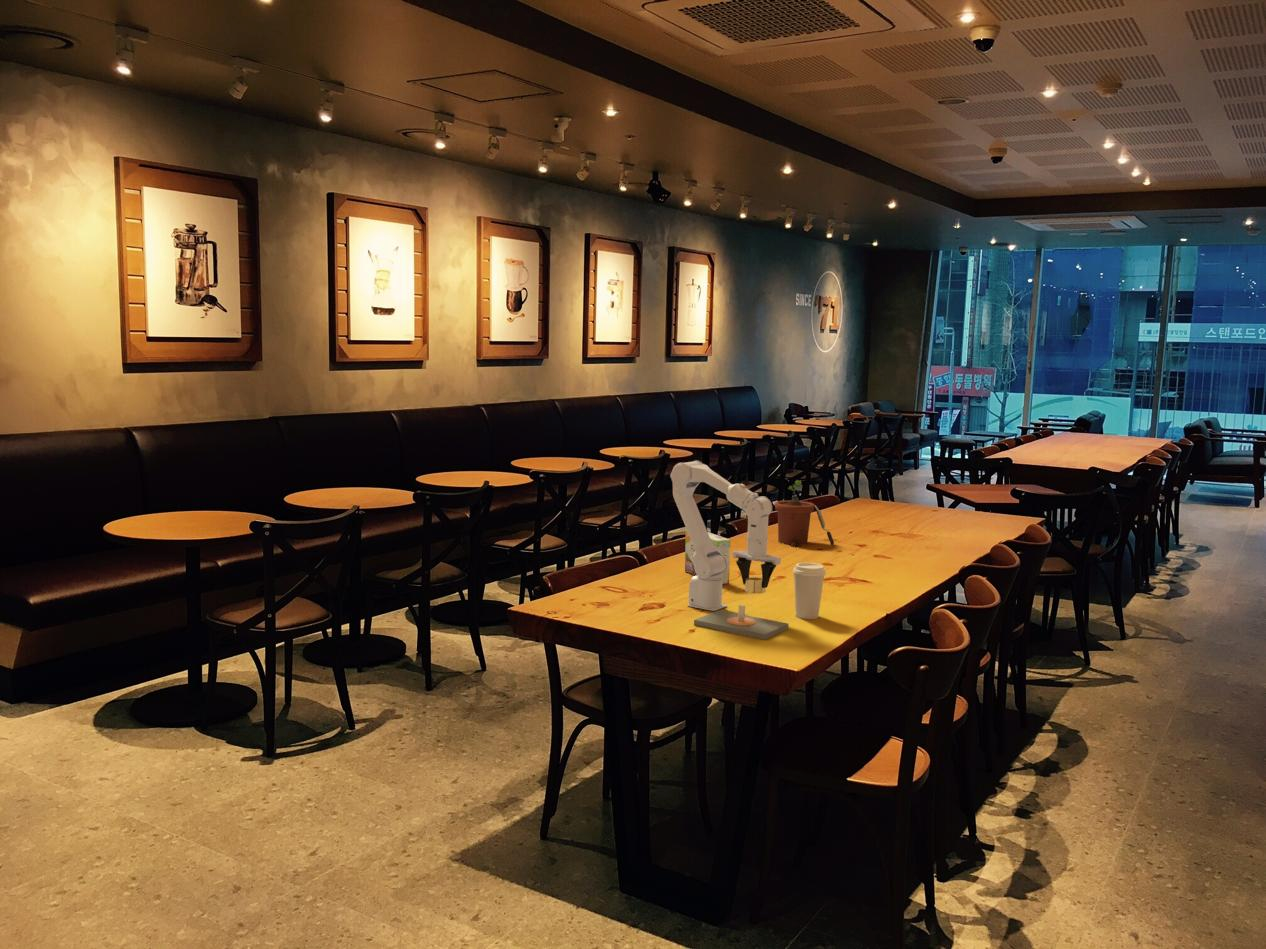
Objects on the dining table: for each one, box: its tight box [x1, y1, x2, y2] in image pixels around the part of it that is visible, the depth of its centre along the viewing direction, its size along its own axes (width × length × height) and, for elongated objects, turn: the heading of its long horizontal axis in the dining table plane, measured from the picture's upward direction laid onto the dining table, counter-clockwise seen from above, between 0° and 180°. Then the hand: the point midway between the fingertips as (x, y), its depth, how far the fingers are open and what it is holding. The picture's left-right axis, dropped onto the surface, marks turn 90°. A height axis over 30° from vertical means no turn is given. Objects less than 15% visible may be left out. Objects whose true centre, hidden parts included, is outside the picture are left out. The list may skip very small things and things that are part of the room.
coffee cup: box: [792, 562, 827, 620], centre depth 292 cm, size 10×10×15 cm
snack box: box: [684, 528, 731, 585], centre depth 338 cm, size 21×6×15 cm, turn 27°
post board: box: [693, 604, 789, 641], centre depth 279 cm, size 22×14×6 cm, turn 55°
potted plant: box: [774, 480, 835, 547], centre depth 404 cm, size 18×22×25 cm
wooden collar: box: [744, 576, 767, 595], centre depth 290 cm, size 6×6×4 cm
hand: (755, 585), depth 290 cm, fingers closed on wooden collar, 6 cm apart
